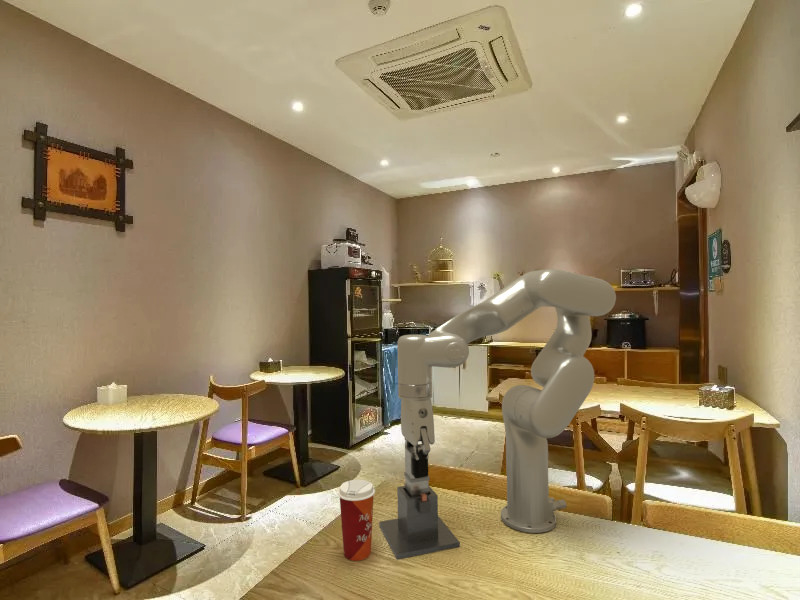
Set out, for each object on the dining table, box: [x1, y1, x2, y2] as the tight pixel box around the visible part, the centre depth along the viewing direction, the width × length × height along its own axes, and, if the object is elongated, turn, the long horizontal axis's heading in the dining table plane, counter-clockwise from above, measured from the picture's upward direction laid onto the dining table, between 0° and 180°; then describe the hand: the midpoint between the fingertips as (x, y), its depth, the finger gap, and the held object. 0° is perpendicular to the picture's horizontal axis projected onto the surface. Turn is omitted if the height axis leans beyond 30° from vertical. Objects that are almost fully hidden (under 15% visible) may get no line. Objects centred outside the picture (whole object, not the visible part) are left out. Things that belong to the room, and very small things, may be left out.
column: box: [403, 446, 430, 497], centre depth 97 cm, size 4×4×18 cm
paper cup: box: [337, 479, 376, 562], centre depth 91 cm, size 8×8×14 cm
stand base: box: [378, 484, 461, 560], centre depth 97 cm, size 14×14×11 cm
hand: (416, 471), depth 97 cm, fingers open, 4 cm apart
